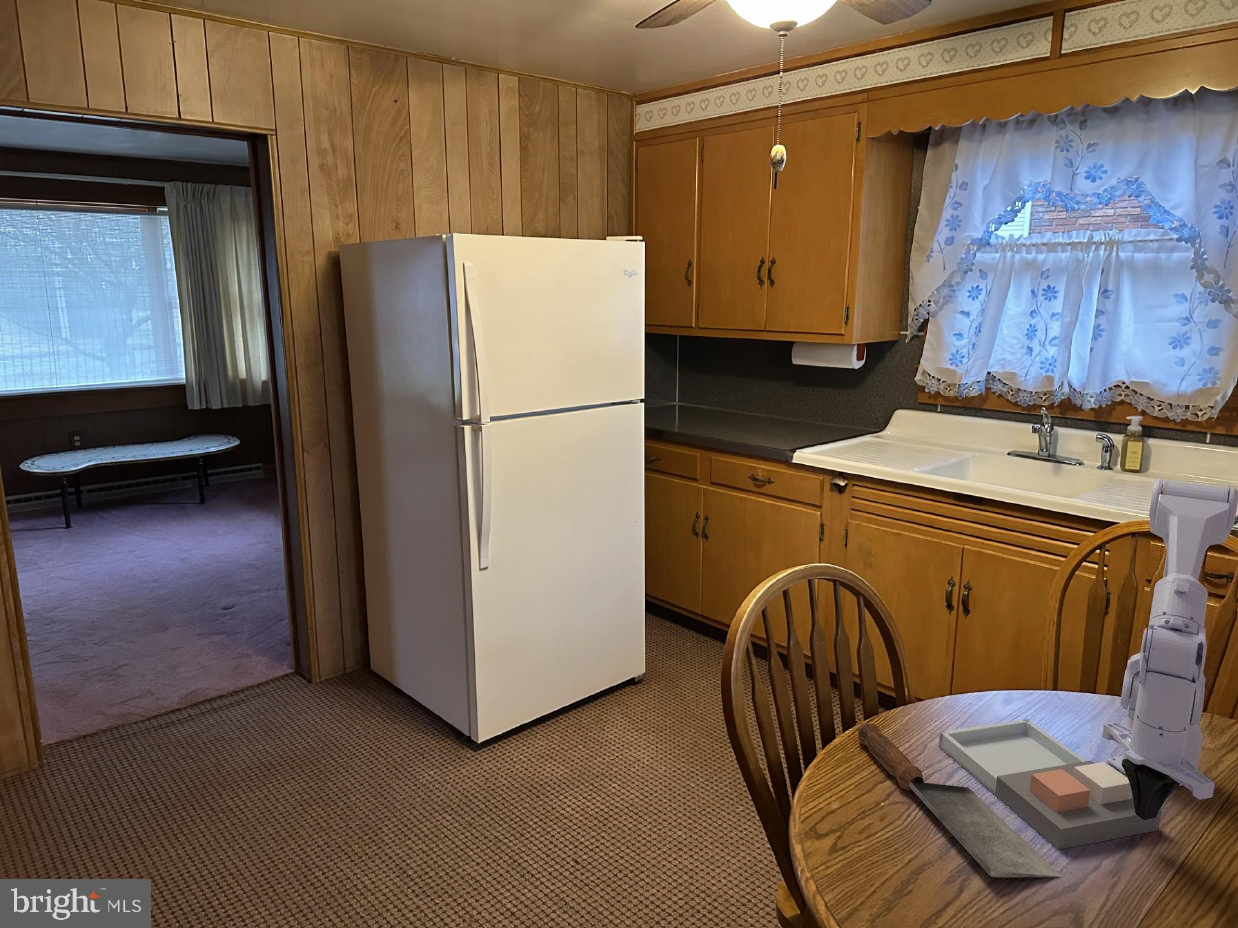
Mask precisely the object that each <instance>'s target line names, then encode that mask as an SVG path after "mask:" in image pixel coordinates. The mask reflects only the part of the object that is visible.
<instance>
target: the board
mask: <svg viewBox="0 0 1238 928" xmlns="http://www.w3.org/2000/svg"><path fill="white" fill-rule="evenodd" d="M1089 764H1095V762H1094V761H1092V760H1086V761H1085V762H1079V763H1073V764H1067V765H1061V766H1055V767H1049V768H1043V769H1037V770H1031V771H1025V772H1019V773H1013V774H1007V775H1001V776H997V781H996V790H995V795H994V796H995V797H996V798H998V799H999V800H1000V801H1001V802H1002V803H1004V805H1006V806H1007V807H1008V808H1009V809H1010V810H1011V811H1013V813H1015V814H1016V815H1017V816H1018V817H1020V818H1021V819H1022V820H1023V821H1024V822H1026V823H1027V824H1028V825H1029V826H1030V827H1031V828H1032V829H1034V830H1035V831H1036V832H1037V833H1038V834H1040V835H1041V836H1042V837H1043V838H1044V839H1045V840H1046V841H1047V842H1049V843H1050V844H1051V845H1052V846H1053V847H1054V848H1055V849H1057V850H1063V849H1065V850H1066V849H1070V848H1073V847H1074V848H1075V847H1079V846H1084V845H1089V844H1094V843H1100V842H1105V841H1109V840H1115V839H1120V838H1125V837H1129V836H1135V835H1141V834H1145V833H1151V832H1156V831H1159V830H1160V825H1161V817H1162V812H1163V811H1162V809H1160V810H1159V812H1158V814H1157V816H1156V818H1153V819H1148V820H1143V819H1142V818H1140V817H1139V816H1137V815H1136V814H1135V808H1134V801H1133V795H1131V799H1128V800H1122V801H1117V802H1111V803H1106V804H1101V805H1100V804H1099V803H1098V802H1096V801H1095V800H1094V799H1092V798H1091V797H1089V804H1088V807H1084V808H1079V809H1073V810H1068V811H1062V812H1055V811H1054V810H1053V809H1052V808H1050V807H1049V806H1048V805H1047V804H1045V803H1044V802H1043V801H1042V800H1041V799H1039V798H1038V797H1037V796H1036V795H1034V794H1033V793H1032V792H1031V791H1029V790H1030V782H1031V774H1035V773H1041V772H1047V771H1053V770H1059V769H1063V770H1064V771H1065V772H1067V773H1068V774H1069V775H1071V776H1072V777H1073V771H1074V767H1077V766H1083V765H1089Z"/></svg>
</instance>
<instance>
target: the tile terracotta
mask: <svg viewBox="0 0 1238 928" xmlns="http://www.w3.org/2000/svg"><path fill="white" fill-rule="evenodd" d="M1029 791H1031V792H1032V793H1033V794H1034V795H1036V796H1037V797H1038V798H1039V799H1041V800H1042V801H1043V802H1044V803H1045V804H1047V805H1048V806H1049V807H1050V808H1052V809H1053V810H1054V811H1055V812H1062V811H1068V810H1073V809H1079V808H1084V807H1088V804H1089V797H1090V789H1088V788H1087V787H1086V786H1084V785H1083V784H1082V783H1080V782H1079V781H1078V780H1076V779H1075V778H1074V777H1072V776H1071V775H1069V774H1068V773H1067V772H1065V771H1064V770H1063V769H1059V770H1053V771H1047V772H1041V773H1035V774H1031V782H1030V790H1029Z"/></svg>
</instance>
